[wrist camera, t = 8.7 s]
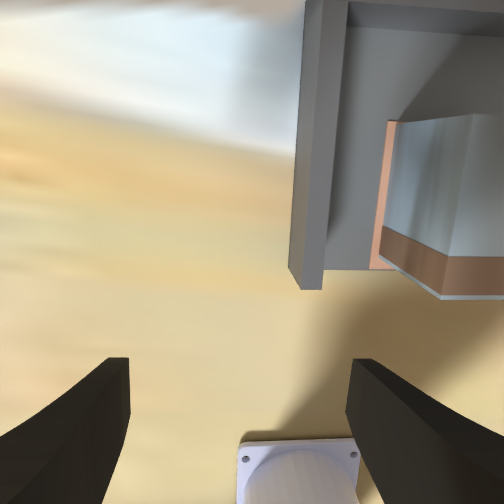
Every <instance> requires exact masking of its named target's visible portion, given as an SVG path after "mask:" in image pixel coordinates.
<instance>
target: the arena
mask: <svg viewBox="0 0 504 504" xmlns="http://www.w3.org/2000/svg"><path fill="white" fill-rule="evenodd" d="M470 114H486V115H504V0H306V2H305V17H304V32H303V48H302V63H301V78H300V93H299V108H298V123H297V138H296V154H295V169H294V184H293V199H292V214H291V229H290V244H289V260H288V268H289V270H290V272H291V273H292V275H293V277H294V279H295V280H296V282H297V284H298V285H299V287H300V289H301V290H322V280H323V270H396V269H395V268H393V267H392V266H390V265H389V264H387V263H386V262H384V261H383V260H381V259H380V258H379V246H380V239H381V231H382V226H383V220H384V212H385V204H386V197H387V189H388V181H389V173H390V166H391V158H392V150H393V143H394V135H395V127H396V124H401V123H408V122H416V121H424V120H431V119H439V118H447V117H454V116H462V115H470Z"/></svg>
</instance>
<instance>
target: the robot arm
mask: <svg viewBox="0 0 504 504" xmlns="http://www.w3.org/2000/svg"><path fill="white" fill-rule="evenodd" d="M345 412H346V415H347V419H348V422H349V425H350V428H351V431H352V434H353V437H354V438H341V439H313V440H285V441H258V442H243V443H241V444H240V445H239V446H238V458H237V488H236V504H360V503H359V500H358V498H357V495H356V486H357V479H358V472H359V465H360V458H361V455H362V458H363V460H364V462H365V464H366V466H367V468H368V470H369V472H370V474H371V476H372V479H373V481H374V483H375V485H376V487H377V489H378V491H379V493H380V495H381V497H382V499H383V501H384V504H504V436H502V435H500V434H498V433H496V432H493V431H491V430H489V429H487V428H485V427H483V426H481V425H479V424H477V423H475V422H474V421H472V420H470V419H468V418H466V417H464V416H462V415H460V414H458V413H457V412H455V411H453V410H452V409H450V408H448V407H446V406H445V405H443V404H441V403H440V402H438V401H436V400H435V399H433V398H432V397H430V396H428V395H427V394H425V393H424V392H422V391H421V390H419V389H417V388H416V387H414V386H413V385H411V384H410V383H408V382H407V381H405V380H404V379H402V378H401V377H399V376H398V375H396V374H395V373H393V372H392V371H390V370H389V369H387V368H386V367H384V366H383V365H381V364H380V363H378V362H376V361H374V360H373V359H353V363H352V370H351V377H350V383H349V390H348V397H347V404H346V411H345ZM130 414H131V410H130V379H129V358H107V359H106V360H105V361H104V362H102V363H101V364H100V365H99V366H98V367H96V368H95V369H94V370H93V371H92V372H90V373H89V374H88V375H87V376H86V377H84V378H83V379H82V380H81V381H79V382H78V383H77V384H76V385H74V386H73V387H72V388H71V389H69V390H68V391H67V392H66V393H64V394H63V395H62V396H60V397H59V398H58V399H56V400H55V401H53V402H52V403H51V404H49V405H48V406H47V407H45V408H44V409H42V410H41V411H40V412H38V413H37V414H35V415H34V416H32V417H31V418H29V419H28V420H26V421H25V422H23V423H22V424H20V425H19V426H17V427H15V428H14V429H12V430H10V431H9V432H7V433H5V434H4V435H2V436H0V504H102V502H103V499H104V496H105V494H106V491H107V488H108V485H109V483H110V480H111V477H112V475H113V472H114V469H115V467H116V464H117V461H118V458H119V456H120V453H121V450H122V447H123V444H124V440H125V436H126V432H127V428H128V423H129V419H130ZM352 452H354V453H352ZM244 456H248V457H246V458H244Z"/></svg>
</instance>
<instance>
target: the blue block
mask: <svg viewBox="0 0 504 504" xmlns="http://www.w3.org/2000/svg"><path fill="white" fill-rule="evenodd" d="M379 258H380V259H381V260H383V261H384V262H386V263H387V264H389V265H390V266H392V267H393V268H395V269H396V270H397V271H399V272H400V273H402V274H403V275H405V276H406V277H408V278H409V279H411V280H412V281H413V282H415V283H416V284H418V285H419V286H421V287H422V288H424V289H425V290H427V291H428V292H430V293H431V294H432V295H434V296H435V297H437V298H438V299H440V300H504V115H486V114H470V115H462V116H454V117H447V118H439V119H431V120H424V121H416V122H408V123H401V124H396V127H395V135H394V143H393V150H392V158H391V166H390V173H389V181H388V189H387V197H386V204H385V212H384V220H383V226H382V231H381V239H380V246H379Z"/></svg>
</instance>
